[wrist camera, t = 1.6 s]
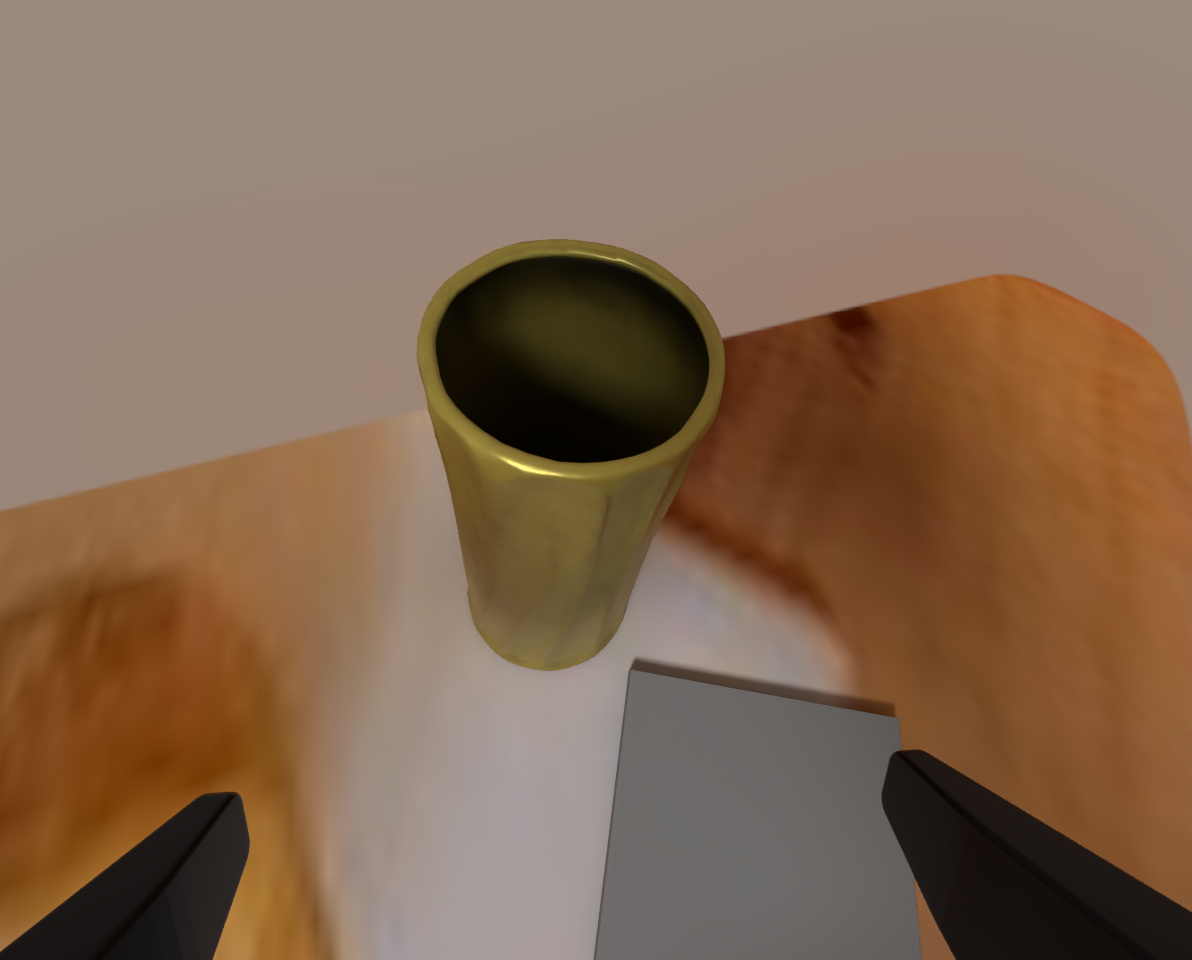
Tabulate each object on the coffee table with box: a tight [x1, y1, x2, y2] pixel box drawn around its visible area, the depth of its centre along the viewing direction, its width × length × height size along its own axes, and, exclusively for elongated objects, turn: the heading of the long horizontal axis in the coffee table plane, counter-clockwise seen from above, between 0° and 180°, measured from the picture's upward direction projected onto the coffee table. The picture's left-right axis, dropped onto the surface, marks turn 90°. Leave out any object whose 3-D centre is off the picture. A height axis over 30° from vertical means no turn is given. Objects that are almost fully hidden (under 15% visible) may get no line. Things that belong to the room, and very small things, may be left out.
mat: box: [594, 670, 922, 960], centre depth 18 cm, size 13×10×1 cm
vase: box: [417, 239, 725, 671], centre depth 16 cm, size 6×6×14 cm
